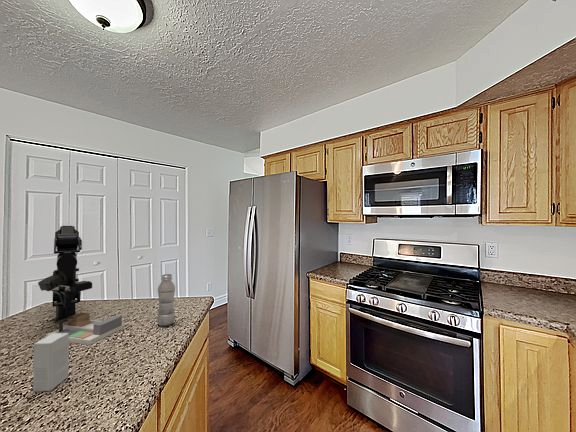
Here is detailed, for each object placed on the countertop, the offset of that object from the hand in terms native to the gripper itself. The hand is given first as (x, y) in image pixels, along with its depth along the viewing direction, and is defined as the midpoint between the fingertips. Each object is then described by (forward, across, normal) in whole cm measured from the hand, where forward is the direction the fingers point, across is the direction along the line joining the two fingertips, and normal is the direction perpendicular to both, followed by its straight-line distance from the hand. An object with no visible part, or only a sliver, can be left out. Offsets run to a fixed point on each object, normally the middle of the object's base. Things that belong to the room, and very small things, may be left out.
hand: (65, 307), depth 101 cm
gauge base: (+8, +12, -2) cm, 15 cm away
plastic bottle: (+8, +35, +12) cm, 38 cm away
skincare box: (+8, +32, -28) cm, 43 cm away
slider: (+6, +7, -3) cm, 10 cm away
